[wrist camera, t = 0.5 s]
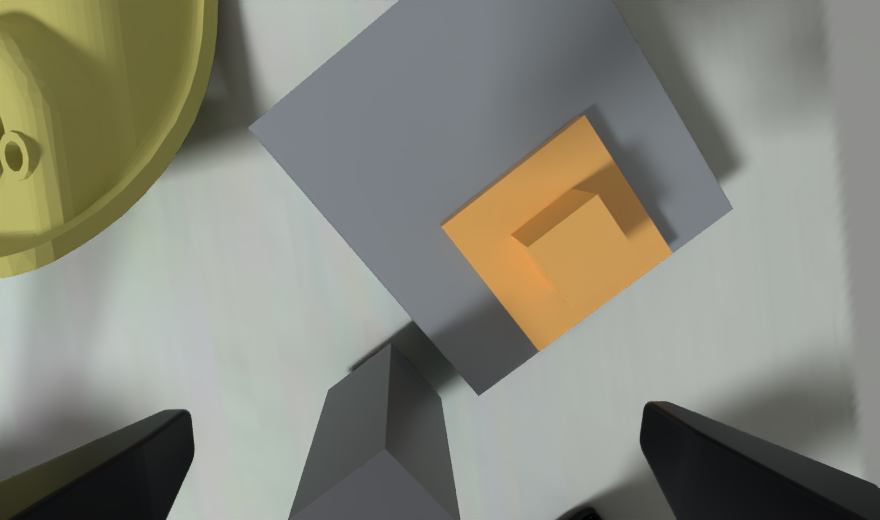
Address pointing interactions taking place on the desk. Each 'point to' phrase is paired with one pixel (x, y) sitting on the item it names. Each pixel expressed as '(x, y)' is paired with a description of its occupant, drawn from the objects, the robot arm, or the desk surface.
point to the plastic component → (91, 113)
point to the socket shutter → (558, 233)
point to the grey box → (379, 449)
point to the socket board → (476, 146)
